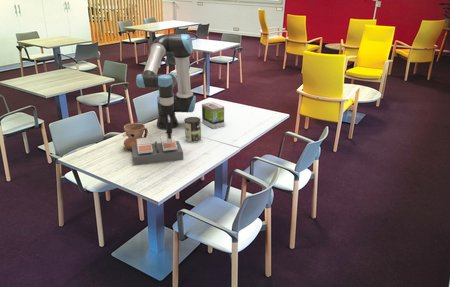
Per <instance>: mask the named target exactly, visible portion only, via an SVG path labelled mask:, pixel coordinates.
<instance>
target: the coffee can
mask: <svg viewBox="0 0 450 287" xmlns="http://www.w3.org/2000/svg"><path fill="white" fill-rule="evenodd" d="M183 120H184V131H185V132H184V133H185V134H184V135H185V139H184V140H185V142H187V143H192V144H195V143H199V142H201V141H202V132H201V130H202V129H201V121H202V119H201V118H200V117H198V116H189V117H185V118H184V119H183Z"/></svg>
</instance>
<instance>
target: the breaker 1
mask: <svg viewBox="0 0 450 287" xmlns="http://www.w3.org/2000/svg"><path fill="white" fill-rule="evenodd" d="M136 140H137V148H138V154H142V153H151V152H153V150H152V144H153V143H152V139H151V137H146V138H139V139H136Z"/></svg>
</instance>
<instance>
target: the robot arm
mask: <svg viewBox="0 0 450 287" xmlns="http://www.w3.org/2000/svg"><path fill="white" fill-rule="evenodd" d="M193 47H194V45H193V40H192V37H191V36H190V34H186V33H165V34H161V35H159V36H158V37H156V38H155V39H154V41H153V42H152V43H151V45H150V53H149V55H148V58H147V61H146V64H145V67H144V70H143V72H142V73H139V74H137V75H136V78H135V83H136V86H137V87H138V88H142V89H143V88H144V89H158V96H157V97H156V98H157V99H156V104H157V114H158V116H157V120H156V127H157V128H158V129H161V130H165V131H166V132H165V134H166V136H167V144H169V143H172V135H173V129H175V128H177V127H178V126H179V121H178V119H177V116H176V113H187V114H189V113H193V112H194V111H195V109H196V108H195V107H196V101H197V100H196V99H197V97H196V95H194V92H193V91H192V90H191V89H192V88H191V76H190V75H191V74H190V61H189V58H190V57H191V55H192V53H193V52H194V49H193ZM166 54H172V58H174V60H175V69H176V74H174V73H173V72H168V73H166V74H158V71H159V68H160V65H161V62H162V59H163V57H164V56H165V55H166ZM176 85H177V92H176V95H175V93H174V87H175V86H176Z"/></svg>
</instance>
